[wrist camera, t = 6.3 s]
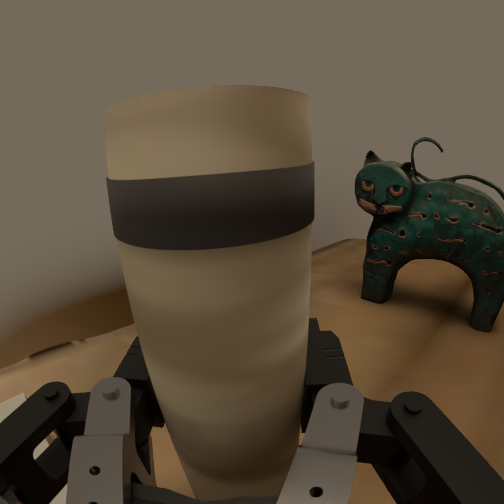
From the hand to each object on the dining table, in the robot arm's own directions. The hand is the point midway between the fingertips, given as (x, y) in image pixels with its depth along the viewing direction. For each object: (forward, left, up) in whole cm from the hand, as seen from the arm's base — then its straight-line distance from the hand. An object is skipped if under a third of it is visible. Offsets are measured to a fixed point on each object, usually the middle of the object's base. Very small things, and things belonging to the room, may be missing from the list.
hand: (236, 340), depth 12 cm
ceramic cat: (-29, +4, -12) cm, 32 cm away
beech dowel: (+2, +2, -12) cm, 12 cm away
